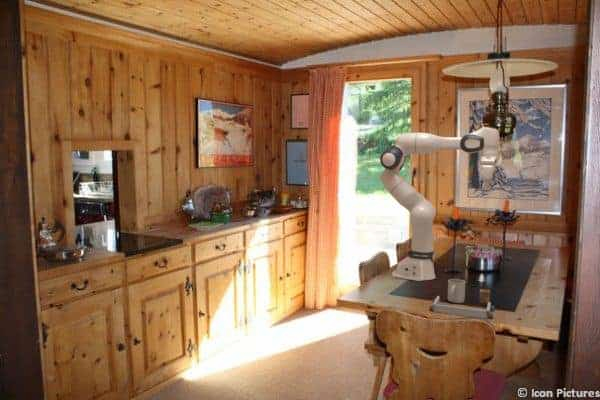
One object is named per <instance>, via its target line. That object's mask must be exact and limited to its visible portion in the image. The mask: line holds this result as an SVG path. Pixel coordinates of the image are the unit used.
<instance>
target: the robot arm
mask: <svg viewBox="0 0 600 400" xmlns="http://www.w3.org/2000/svg"><path fill="white" fill-rule="evenodd" d="M499 146H500V132H499V130H498V129H497V128H496V127H491V126H482V127H481V128H479V129H478V130H475V131H473V132H471V133H470V132H469V133H467V134H465V135H463V136H460V137H457V136H454V137H448V136H447V137H444V136H439V135H436V134H432V133H429V132H409V133H403V134H399V135H397V137H396V140H395V144H394V145H392V146H391V147H388V148H387V149H385V150H384V151H383V152H381V154H380V157H379V161H380V164H381V166H382V167H383V168H384V170H383V171H382V172H381V174H380V175H379V181H380V182H381V184H382V186H383V187H384V189H385V190H386V192H388V193H389V195H391V196H392V197H393V199H394V200H395V201H396V202H397V203H398V204H399V205H400V206H401V207H403V208H404V209H406V210H407V211H408V212H409V213H410V214H409V215H410V216H409V217H410V230H411V248H408V250H407V256H405V258H403V259H402V260H400V261H399V262H398V263H397V265H396V269H395V270H393V271H392V272H391V276H392V277H393V278H399V279H405V280H410V281H417V282H421V281H430V280H434V279H436V274H435V268H434V261H435V250H434V240H435V239H434V229H433V227H434V225H433V222H434V219H435V217H436V216H437V209H436V207H435V205H434V204H432V203H431V202H430V201H429V200H428V199H427V198H425V196H424V195H422V194H421V193H420V192H418V190H416V188H414V187H413V185H412V184H410V182H409V181H408V180H407V179H406V177H404V175H402V174H401V172H400V171H402V168H403V166H404V165H405V163H406V161H407V160H406V159H407V157H406V156H407V155H423V154H424V155H425V154H430V153H431V154H432V153H434V152H438V151H439V152H440V151H444V150H457V151H458V150H459V151H460V150H461V151H463V152H465V153H466V154H477V153H479V157H478V158H479V160H478V163H479V164H480V165H481V172H482V179H483V181H484V185H485V186H484V189H485V190H489V189H490V188H491V183H492V179H493V178H494V168H496V165H498V164H499V160H500V159H499V157H500V154H499V153H500V152H499Z"/></svg>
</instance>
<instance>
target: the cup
mask: <svg viewBox="0 0 600 400" xmlns="http://www.w3.org/2000/svg"><path fill="white" fill-rule="evenodd" d="M447 282H448V284H447V301H448V302H450V303H453V304H454V303H456V304H462V303H464V302H465V298H466V297H465V295H466V280H463V279H458V278H451V279H448V280H447Z"/></svg>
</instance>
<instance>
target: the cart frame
mask: <svg viewBox="0 0 600 400" xmlns="http://www.w3.org/2000/svg"><path fill="white" fill-rule="evenodd" d="M440 299H441V298H440V295H437V296H436V298H433V300H432V305H429V308H428V309H429V311H432V312H434V313H442V314H449V315H457V316H462V317H463V316H464V317H471V318H479V319H485V320H486V319H487V320H490V319H494V314H493V313H494V311H495V305H491V304H492V302H490V301H489V302H488V303H487V306H486V310H484V309H476V308H469V307H462V306H461V307H460V306H453V305H445V304H440ZM491 311H492V312H493V313H492V312H491Z"/></svg>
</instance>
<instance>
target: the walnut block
mask: <svg viewBox="0 0 600 400" xmlns="http://www.w3.org/2000/svg"><path fill="white" fill-rule="evenodd" d="M490 292H491V290H490V289H481V288H480V289H479V301H478V302H479V303H481V304H488V302H490V298H491V297H490V295H491V293H490Z"/></svg>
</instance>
